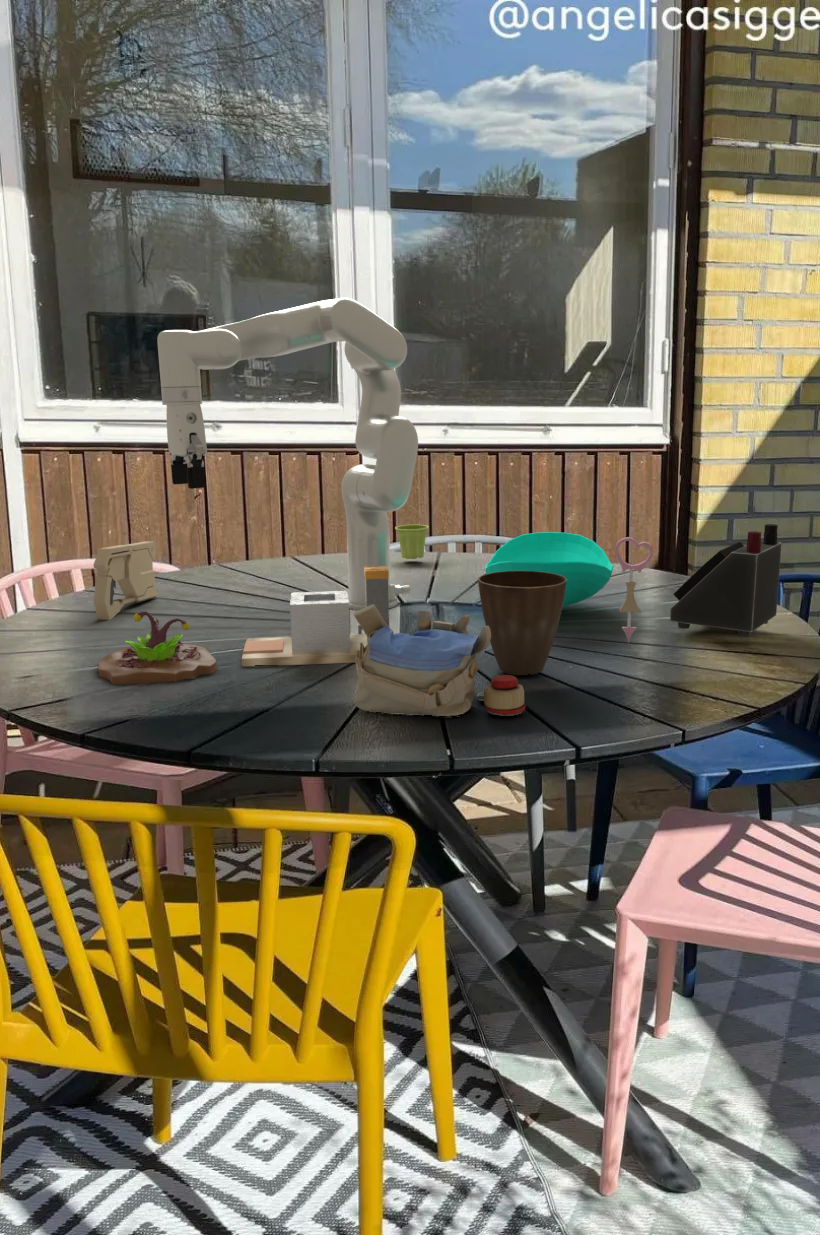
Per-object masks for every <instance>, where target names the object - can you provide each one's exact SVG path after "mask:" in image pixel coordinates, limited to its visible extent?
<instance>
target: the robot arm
mask: <svg viewBox="0 0 820 1235" xmlns="http://www.w3.org/2000/svg"><path fill="white" fill-rule="evenodd" d="M335 342H338V343H339V342H345V343H344V348H343V349H344V355H345V357H346V360H347V362H348V363H349V365H350V366H351V367H352V368H353V370H354V372H355V373H356V374H357V376H358V378H359V381H360V384H361V402H360V407H359V414H358V420H357V424H356V425H357V426H356V431H355V441H354V442H355V448H356V450H357V451H358V453H359V454H360V455H362V456H363V457H366V458H369V459H374V460H376V461H375V464H369V463H367V464H366V463H361V464H356V465H354V466H352V467H351V468H349V469H348V470H347V471H346V473H344V476H343V478H342V482H341V497H342V501H343V506H344V512H345V520H346V545H347V546H346V547H347V548H346V549H347V550H346V551H347V552H346V553H347V580H348V600H349V610H356V611H359V610H361V609H363V608H365V607H366V595H365V575H364V567H378V566H387V568H388V570H389V579H388V595H389V609H392V608H394V607H396V606H397V605H398V603H399V601H398V598H397V597H398V596H399V595H407V594H411V586H410V585H409V584H406V585H400V584H397V585H396V584H393V583H391V581H392V580H391V549H390V547H391V542H390V541H391V540H390V537H391V535H390V534H391V533H390V531H391V530H390V529H391V528H390V522H389V516H388V514H387V512H390V513H392V512H395V511H398V510H399V509H401V508H403V507H404V505H405V504H406V502H407V501H408V499H409V496H410V493H411V489H412V486H413V485H412V484H413V479H414V473H415V468H416V462H417V456H418V451H419V450H418V449H419V438H418V436H419V435H418V433H417V430H416V427H415V425H414V424H413V423H412V421H411V420H409V419H408V418H407V417H404V416H401V415H399V414H400V405H401V398H402V396H401V395H402V388H401V387H402V386H401V383H400V380H399V377H398V375H397V372H396V370H395V369H397V368H399V367H400V366H401V365H402V364H403V363H404V362H405V360H406V358H407V355H408V345H407V341H406V339H405V337H404V335H403V334H402V333H401V332H400V331H399V329H397V328H395V327H394V326H393V325H392V324H390V323H389V322H388V321H386V320H385V319H383V318H382V317H380V316H379V315H377V313H375V312H373V311H372V310H371V309H369V308H368V307H366V306H365V305H363V304H362V303H360V302H358V301H356V300H355V299H353V298H350V297H339V298H333V299H332V298H331V299H324V300H320V301H315V302H310V303H305V304H303V305H299V306H295V307H294V306H293V307H290V308H285V309H281V310H278V311H277V310H276V311H273V312H272V311H271V312H268V313H265V314H261V315H257V316H255V317H251V318H248V319H245V320H240V321H237V322H233V323H228V324H224V325H220V326H215V327H211V328H206V329H202V330H197V331H193V330H189V329H168V330H167V329H166V330H162V331H160V332H159V333H158V335H157V352H158V364H159V376H160V378H159V379H160V389H161V390H160V391H161V403H162V406H166V415H165V416H166V434H167V435H166V436H167V437H166V438H167V447H168V452H169V455H170V459H169V461H170V470H171V481H172V482H171V483H172V484H173V485H186V484H187V488H188V489H193V490H194V489H203V488H205V487H206V482H205V468H204V467H205V462H204V458H205V456H206V455H207V453H208V449H207V440H206V438H207V437H206V429H205V423H204V422H205V420H204V416H203V411H202V406H201V405H203V396H202V382H201V370H203V371H205V370H226V369H230V368H232V367H233V366H235V365H236V364H237V363H238V362H240V361H244V360H249V359H258V358H273V357H280V356H284V355H285V356H286V355H289V354H292V353H295V352H300V351H303V350H307V349H312V348H316V347H319V346H324V345H326V344H331V343H335Z"/></svg>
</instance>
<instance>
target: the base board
mask: <svg viewBox="0 0 820 1235" xmlns="http://www.w3.org/2000/svg"><path fill="white" fill-rule="evenodd" d="M393 634H396V633H395V632H393ZM266 640H284V645H283V652H267V653H243V652H242V657H241V667H256V666H255V665H278V666H296V665H297V666H298V665H300V666H301V665H303V666H304V665H320V664H325V665H326V664H347V663H348V664H350V663H356V662H355V651H356V650H359V649H360V643H361V642H362V643H363V646H364V648H365V646H366V645H367V635H366V634H365V633H362V634H361V633H359V634H358V633H357V634H350V652H331V653H306V654H292V640H291V636H284V637H283V636H277V637H258V638H257V637H254V638H247V639H246V641H266Z"/></svg>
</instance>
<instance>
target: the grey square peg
mask: <svg viewBox="0 0 820 1235" xmlns="http://www.w3.org/2000/svg"><path fill="white" fill-rule="evenodd" d="M364 575H365V595H366V607H368V606H370V605H372V604H374V605H375V607H376V608H377V610H378V611H379V613H380V614H381V616H382V618H383V619H384V621H385V623H386V624H387V626H389V627H390V610H389V609H390V608H389V595H388V579H389V570H388V568H387V566H378V567H364ZM367 643H368V637H367Z"/></svg>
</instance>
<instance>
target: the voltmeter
mask: <svg viewBox="0 0 820 1235" xmlns="http://www.w3.org/2000/svg"><path fill="white" fill-rule="evenodd" d="M778 527H779V526H778V524H775V523H774V524H773V523H772V524H770V523H767V524H764V532H763V540H762V531H758V530H757V531H756V530H755V531H753V530H752V531H751V530H749V531H747V540H746V545H744V544H743V542H741V541H738V542H736V543H734V544H731V545H730V546H729V545H728V546H727V547H725V548H723V549H721V550H718V552H717V553H715V554H714V555H713V556H712V557H711V558H709V559H708V561H706V562H705V563H704V564H703V565H702V566H701V567H700V568H699V569H698V570H697V571H695V572H694V573H693V574H692V575H691V576H690V577H689V578H688V579H687V580H686V581H685V582H684V583H683V584H682V585H681V586H680V587H679V588H678V589H677V590H676V591H675V592H674V593H673V596H674V597H675V598H676V599H677V600H678V601H677V602H676V603H675V604H674V605H673V606H672V607H670V609H669V610H670V612H669V613H670V614H669V615H670V616H669V622H673V623H677V627H678V628H679V629H682V630H683V629H685V630H686V629H689V628H690V626H691V625H695V626H703V627H711V628H719V629H725V630H731V631H733V630H734V631H737V635H738V636H739V637H744V638H745V637H746V638H748V637H750V636H751V633H753V632H754V631H755V630H756V631H757V629H759V628H760V627H762V625H767V624H768V623H769V621H770V620H771V619H773V618H775V617H776V616H777V611H778V610H777V608H778V595H779V584H780V582H779V581H780V568H781V556H782V542H780V541H779V542H778Z"/></svg>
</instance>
